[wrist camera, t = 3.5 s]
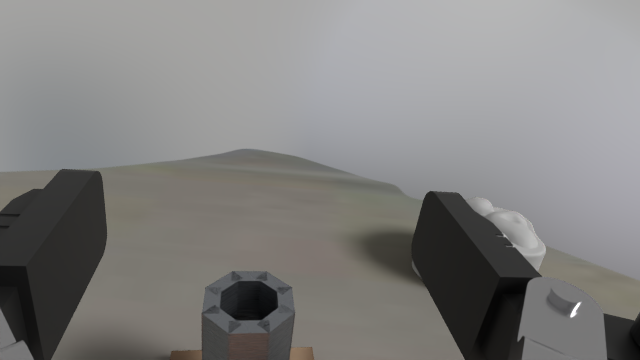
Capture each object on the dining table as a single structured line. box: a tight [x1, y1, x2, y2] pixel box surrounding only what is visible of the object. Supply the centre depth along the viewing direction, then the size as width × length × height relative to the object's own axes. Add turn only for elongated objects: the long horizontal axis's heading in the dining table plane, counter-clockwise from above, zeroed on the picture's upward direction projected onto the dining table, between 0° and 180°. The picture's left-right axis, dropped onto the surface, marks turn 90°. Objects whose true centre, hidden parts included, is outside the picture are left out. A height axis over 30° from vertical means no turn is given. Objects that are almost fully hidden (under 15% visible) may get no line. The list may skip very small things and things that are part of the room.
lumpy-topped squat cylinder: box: [412, 197, 546, 279], centre depth 51 cm, size 10×13×9 cm
